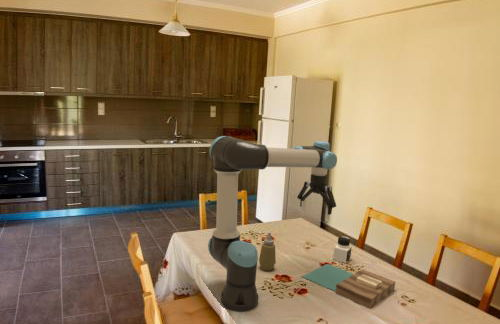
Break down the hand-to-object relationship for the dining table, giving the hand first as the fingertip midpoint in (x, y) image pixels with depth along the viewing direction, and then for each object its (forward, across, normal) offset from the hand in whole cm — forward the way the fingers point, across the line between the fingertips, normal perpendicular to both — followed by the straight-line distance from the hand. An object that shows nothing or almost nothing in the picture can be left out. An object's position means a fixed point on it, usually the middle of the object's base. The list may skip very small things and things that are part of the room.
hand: (314, 217), depth 187 cm
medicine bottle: (+26, -6, -22) cm, 35 cm away
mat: (+26, -12, +1) cm, 29 cm away
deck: (+26, -30, +1) cm, 40 cm away
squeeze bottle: (+26, +14, +17) cm, 34 cm away
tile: (+22, -31, +1) cm, 38 cm away
